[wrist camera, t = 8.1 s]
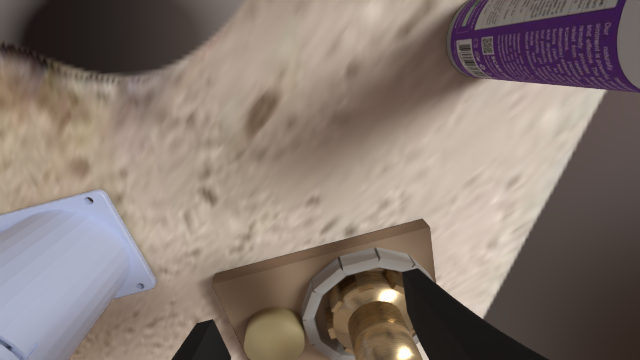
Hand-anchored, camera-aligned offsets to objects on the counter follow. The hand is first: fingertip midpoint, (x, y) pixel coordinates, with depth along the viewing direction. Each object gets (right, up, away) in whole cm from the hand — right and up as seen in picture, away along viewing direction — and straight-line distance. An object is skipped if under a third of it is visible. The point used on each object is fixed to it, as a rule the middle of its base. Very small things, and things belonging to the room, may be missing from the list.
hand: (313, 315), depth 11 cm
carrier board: (+1, -5, +13) cm, 14 cm away
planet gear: (+4, -4, +12) cm, 14 cm away
